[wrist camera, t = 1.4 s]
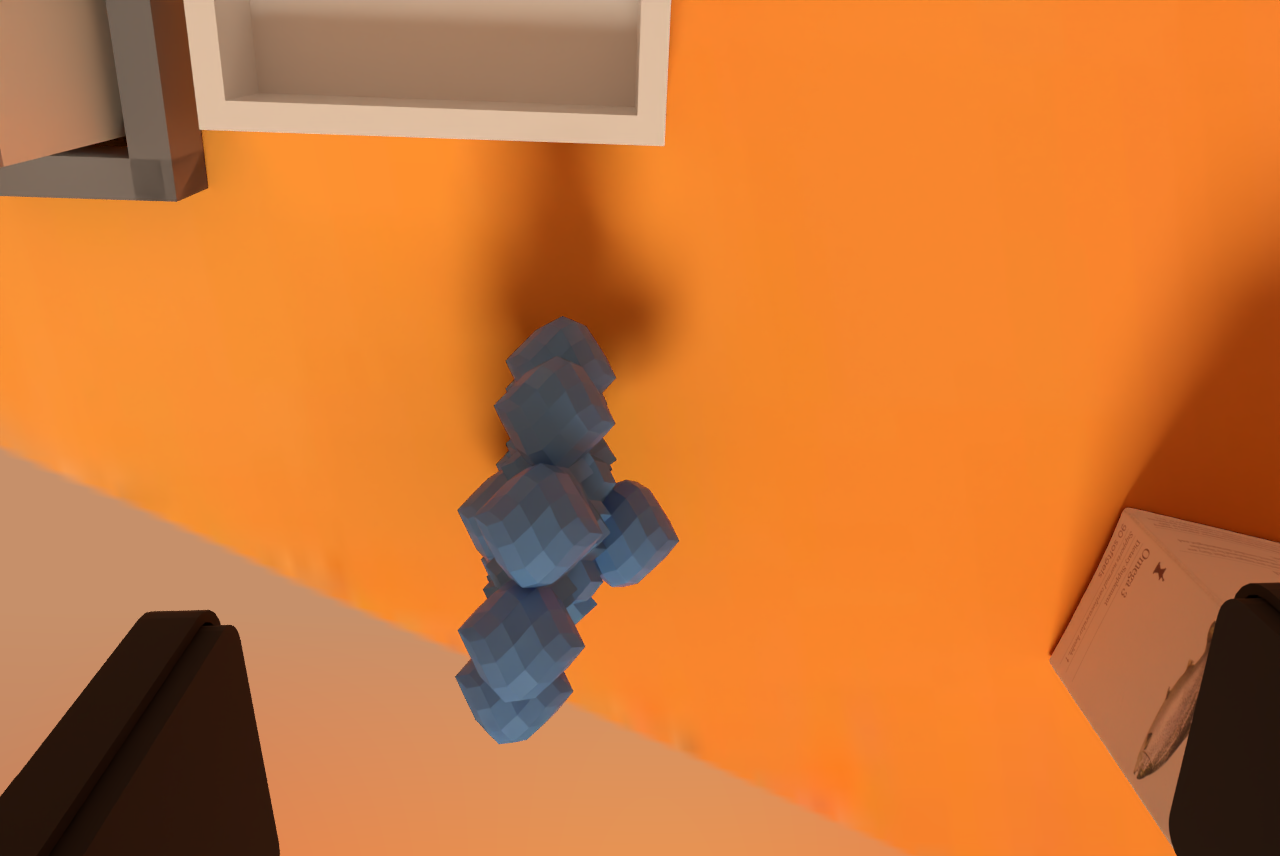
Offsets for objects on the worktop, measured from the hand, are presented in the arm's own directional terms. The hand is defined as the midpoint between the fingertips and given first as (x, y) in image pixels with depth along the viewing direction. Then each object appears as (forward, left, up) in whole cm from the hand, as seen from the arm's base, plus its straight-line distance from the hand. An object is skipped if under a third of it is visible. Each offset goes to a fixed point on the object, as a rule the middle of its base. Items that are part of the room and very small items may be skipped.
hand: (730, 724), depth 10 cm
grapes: (+8, -2, -25) cm, 27 cm away
